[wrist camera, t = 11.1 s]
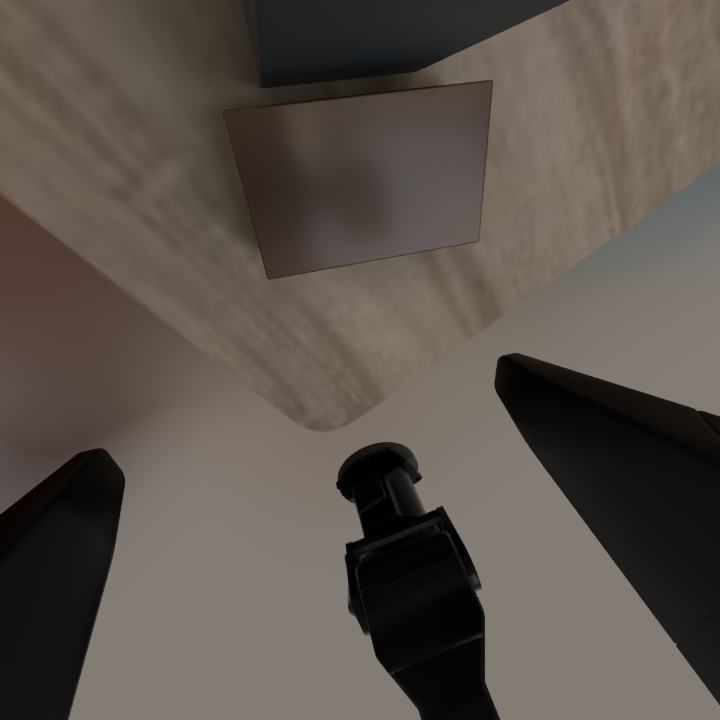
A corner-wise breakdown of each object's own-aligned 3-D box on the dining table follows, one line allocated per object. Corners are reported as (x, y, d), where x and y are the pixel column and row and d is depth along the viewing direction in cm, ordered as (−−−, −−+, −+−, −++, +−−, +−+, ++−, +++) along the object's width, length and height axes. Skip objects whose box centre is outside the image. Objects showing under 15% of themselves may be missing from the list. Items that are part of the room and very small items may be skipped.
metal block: (443, 225, 19) (479, 241, 16) (267, 255, 18) (268, 280, 15) (446, 92, 16) (494, 79, 13) (231, 117, 15) (222, 110, 11)
